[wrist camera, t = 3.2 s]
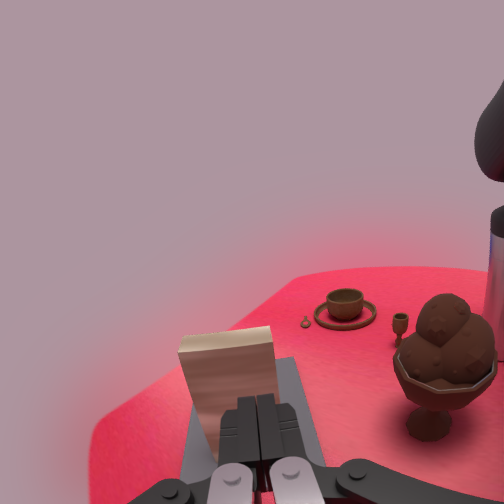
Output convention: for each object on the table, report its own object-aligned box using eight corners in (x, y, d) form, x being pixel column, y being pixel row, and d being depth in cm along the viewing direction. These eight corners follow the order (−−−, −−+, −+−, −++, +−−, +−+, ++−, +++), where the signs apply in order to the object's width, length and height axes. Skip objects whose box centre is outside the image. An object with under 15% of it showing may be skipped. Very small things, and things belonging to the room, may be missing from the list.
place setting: (383, 301, 57) (383, 274, 56) (411, 352, 38) (415, 318, 37) (301, 309, 60) (299, 282, 59) (299, 365, 41) (296, 332, 40)
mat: (200, 372, 42) (199, 368, 41) (293, 360, 42) (293, 356, 41) (180, 493, 20) (177, 490, 20) (328, 480, 20) (329, 476, 20)
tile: (217, 443, 26) (183, 334, 23) (283, 436, 26) (269, 323, 23) (216, 462, 24) (177, 352, 20) (286, 456, 24) (272, 341, 20)
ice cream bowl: (367, 448, 23) (383, 324, 20) (402, 385, 31) (414, 274, 27) (460, 469, 16) (516, 340, 12) (476, 398, 24) (506, 282, 20)
